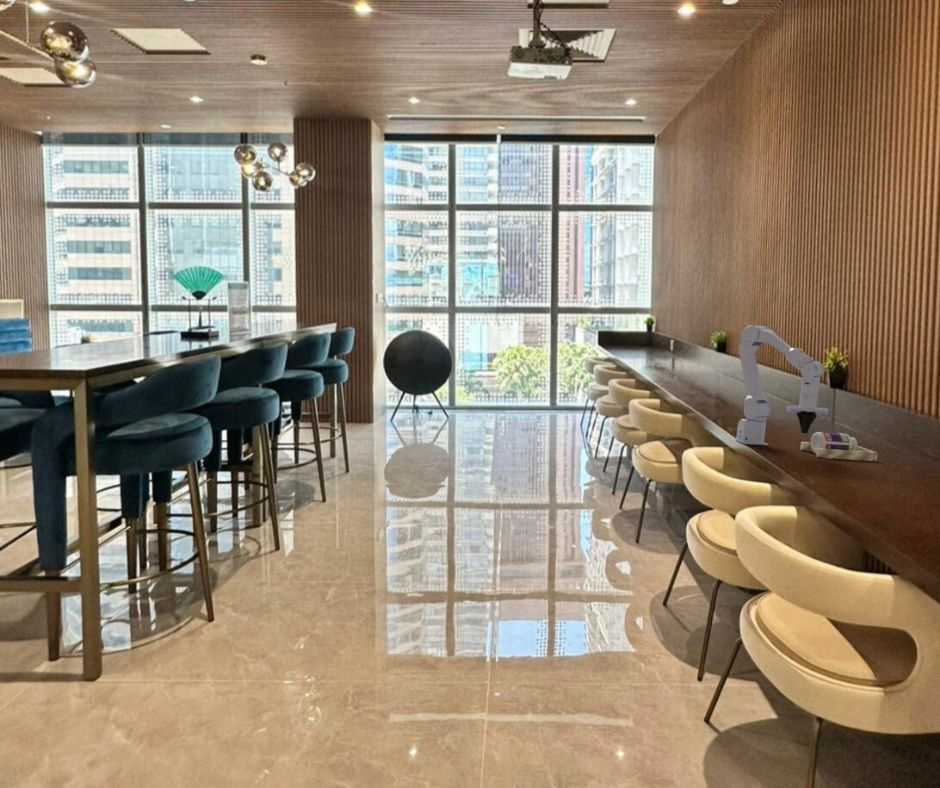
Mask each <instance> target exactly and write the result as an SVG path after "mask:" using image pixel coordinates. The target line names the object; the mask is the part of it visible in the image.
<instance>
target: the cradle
mask: <svg viewBox="0 0 940 788" xmlns="http://www.w3.org/2000/svg"><path fill="white" fill-rule="evenodd" d="M801 450H804V452H813V451H812V449H811V441H810V442H808V441H800V448H799V451H801ZM878 455H879V453H878V452H877V451H874V450H871V449H868V448H865V447H863V446H859V445H857V449H856V451H852V450H836V449H820V448H817V453H816V455H815V457H816V458H818V457H821V458H820V459H833V458H835V459H836V460H837V459H839V460H853V461H868V462H877V461H878ZM822 457H823V458H822Z"/></svg>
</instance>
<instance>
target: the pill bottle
mask: <svg viewBox="0 0 940 788" xmlns="http://www.w3.org/2000/svg"><path fill="white" fill-rule="evenodd" d="M810 443H811V449H812V451H811V452H813V453H814V454H816V453H817V448H820V449H836V450H852V451H856V449H857V446H858V441H857V439H856V438H855V437H851V436H849V434H847V433H844V432H827V431H826V432H823V431H816V432H814V433H813V434H812V436H811V438H810Z"/></svg>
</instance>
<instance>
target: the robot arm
mask: <svg viewBox="0 0 940 788" xmlns="http://www.w3.org/2000/svg"><path fill="white" fill-rule="evenodd" d="M739 342H740V343H739V346H738V354H739V358H740V365H741V371H742V374H743V380H744V385H745V386H744V388H745V391H746V397H745V398H744V400H743V402H744V406H743V415H744V417H745V418H744V419H743V418H741V419H739V421H738V423H737V430H736V437H735V441H737V442H739V443H741V444H743V445H757V446H758V445H759V446H769V444H768V443H766V442H765V436H766V435H765V434H766V427H767V418H768V417H770V416H771V413H772V407H771V405H770V404H769V402H768V400H767V399H768V398H767V397H766V395H765V394H764V393H763V389H762V386H761V378H760V374H759V368H758V364H757V360H756V359H757V358H756V351H757V350H758V348H760V347H761V346H762V345H764V344H765V343H766V344H769V345H770V346H772V347H774V348H775V349H777V350H778V351H779V352H780V353H782V354H783V355H785V359H786V362H788V363H789V364H791V366H794V367H795V368H796V369H797V370H798V371H800V374H801V377H802V378H801V379H802V380H801V386H800V387H801V388H800V395H799V404H798V405H786V407H785V408H786V409H785V411H786V412H788V413H796V416H797V418H798V421H799V427H800V433H802V434H808V432H809V430H810V429H811V426H812V424H813V422H814V421H815V420H816V418H817V416H818V415H817V414H820V415H821V414H822V415H828V414H829V408H825V407H817V406H818V400H819V399H818V398H819V390H820V381H821V376H823V374H824V373H825V367H824V364H822V363H821V362H820V361H818V360H814V359H815V358H813V357H812V356H811V357H810V356H809V355H808V354H807V353H805V352H804V349H803V348H799V347H792V346H791V345H789V344H788V343H787V342H786V341H784V340H783V339H782V338H781V337H780V336H778V335H777V334H776V333H775V331H773V329H770V328H768V327H767V326H766V325H753V324H749V325H747V326H745V327H744V329H743V330H742V331H741V332H740V341H739Z"/></svg>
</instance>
